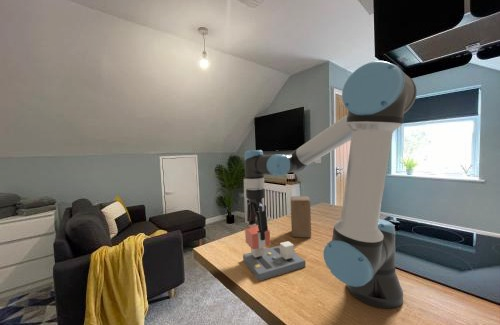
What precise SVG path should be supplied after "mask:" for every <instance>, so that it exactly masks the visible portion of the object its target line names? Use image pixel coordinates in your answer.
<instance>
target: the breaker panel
mask: <svg viewBox="0 0 500 325" xmlns="http://www.w3.org/2000/svg"><path fill="white" fill-rule="evenodd" d="M242 261H243V262H244V263H245V265H246V266H247V267H248V268H249V270H250V271H251V273H253V275H254V276H255V278H256V279H257V280H258V281H259V282H261V281H263V280H267V279H270V278H274V277H277V276H280V275H284V274H287V273H290V272H292V271H296V270H300V269H303V268H306V260H305V259H304V258H303V257H301V256H300V255H299V254H297V253H296V252H294V257H293V258H290V259H284V258H283V257H282V256H281V255H280V245H277V246H272V247H268V248H264V255H263V256H259V257H254V256H253V255H252V254H251V252H248V253H243V254H242Z"/></svg>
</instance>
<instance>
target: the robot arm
mask: <svg viewBox="0 0 500 325" xmlns="http://www.w3.org/2000/svg"><path fill="white" fill-rule="evenodd" d="M341 91H342V93H341V98H342V103H343V105H344V106H345V108H346V109H347V114H346V115H343V117H342V118H340V119H339V120H337V121H336V122H335V123H332V124H331V125H330V126H328V127H327V128H325V129H324V130H322V131H321V132H319V133H318V134H316V135H315V136H314V137H312V138H311V139H310V140H308V141H306V142H305V143H303V144H302V145H301V146H299V147H298V148H296V149H295V150H293V151H292V152H290V153H279V154H277V153H275V154H264V151H263V150H262V149H257V150H256V149H255V150H253V149H252V150H246V151H245V152H244V174H245V175H244V176H245V178H244V179H245V180H244V181H245V188H246V190H245V193H246V204H247V207H246V208H247V209H246V210H247V211H246V213H247V214H246V216H247V218H246V221H247V222H248V224H249V227H253V226H258V229H259V231H257V232H258V247H259V248H264V249H265V248H266V247H267V246H265V232H266V231H268V230H269V228H268V227H269V226H268V218H267V205H265V204H263V200H262V199H265V196H266V195H265V192H266V191H265V188H264V187H265V175H267V176H275V177H278V176H285V175H286V174H289V173H297V172H301V171H304V170H306V168H307V167H308V165H310V164H312V163H314V162H315V161H317V160H319V159H321V158H322V157H323V156H325V155H327V154H329V153H331V152H332V151H334V150H336V149H337V148H339V147H341V146H342V145H344V144H346V143H347V142H349V141H350V145H349V154H348V159H347V160H348V161H347V169H346V170H347V171H346V177H345V186H344V192H343V200H342V208H341V216H340V218H339V219H338V220H337V221H335V222H334V224H333V230H332V231H333V232H332V238H331V240H330V241H329V242H327V243H326V245H325V246H324V249H323V260H324V263H325V265H326V267H327V268H328V270H330V273H331V274H332V275H333V276H334V277H335V279H336V280H338V281H339V282H341V283H343V284H345V285H346V287H347V290H348V291H349V293H350V294H351V295H352V296H353V297H354V298H355V299H357V300H358V301H360V302H362V303H364V304H366V305H368V306H372V307H374V308H378V309H379V308H380V309H396V308H398V307H400V306H402V304H403V302H404V292H403V291H404V290H403V288H402V286H401V284H400V280H399V277H398V275H397V271H396V228H395V225H394V224H393V223H392V222H390V221H388V220H387V219H386V220H385V219H382V218H380V215H381V208H382V203H383V202H382V201H383V195H384V189H385V183H386V177H387V170H388V164H389V159H390V158H389V157H390V151H391V145H392V138H393V134H394V132H395V131H396V130H397V129H399V128H401V126H402V125H403V122H404V121H403V120H404V114H405V113H407V112H408V111H409V110H410V109H411V108H412V106H413V104H414V103H415V101H416V99H417V93H418V89H417V85H416V83H415V82H414V80H413V79H412V78H411V77H410V76H409V75H407V74H406V73H405V72H404V71H403V69H402V68H401V67H399V66H398V65H397V64H395V63H390V62H388V61H384V60H376V61H372V62H368V63H365V64H362V65H361V66H359V67H358V68H356V70H354V71H353V72H352V73H351V74H350V75H349V77H348V78H347V79H346V81H345V82H344V85H343V87H342V90H341Z"/></svg>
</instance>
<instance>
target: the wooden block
mask: <svg viewBox="0 0 500 325" xmlns="http://www.w3.org/2000/svg"><path fill="white" fill-rule="evenodd" d="M309 197H310V196H307V195H306V196H305V195H303V196H301V195H299V196H290V219H291V220H290V222H291V223H290V224H291V236H292V237H293V238H306V239H308V238H312V222H311V221H312V217H311V216H312V215H311V214H312V213H311V200H310V198H309Z"/></svg>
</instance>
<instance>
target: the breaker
mask: <svg viewBox="0 0 500 325" xmlns="http://www.w3.org/2000/svg"><path fill="white" fill-rule="evenodd" d="M279 246H280V255H281V256H282V257H283V258H284V259H290V258H293V257H294V253H295V245H294V244H293V243H292V242H290V241H289V240H288V241H282V242H279Z"/></svg>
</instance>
